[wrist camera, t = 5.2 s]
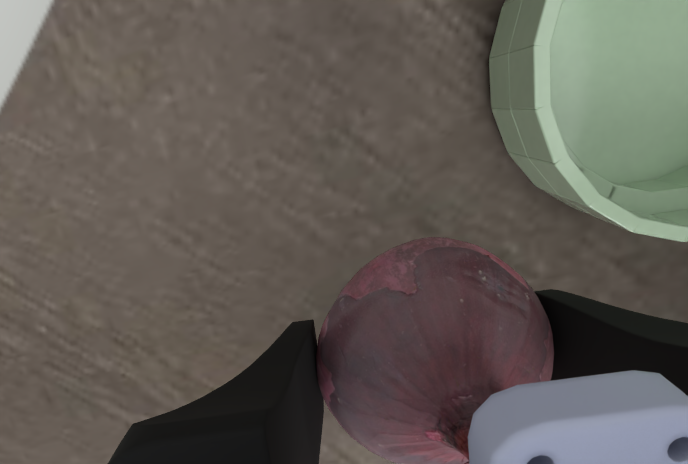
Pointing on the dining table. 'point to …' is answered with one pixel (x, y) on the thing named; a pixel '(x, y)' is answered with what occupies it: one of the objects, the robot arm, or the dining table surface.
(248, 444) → the robot arm
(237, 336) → the dining table surface
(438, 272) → the vegetable
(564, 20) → the bowl
